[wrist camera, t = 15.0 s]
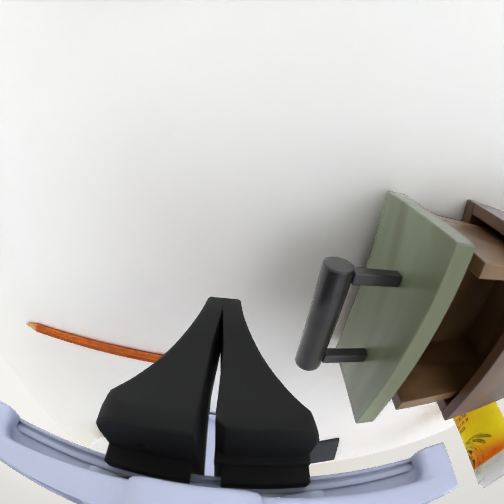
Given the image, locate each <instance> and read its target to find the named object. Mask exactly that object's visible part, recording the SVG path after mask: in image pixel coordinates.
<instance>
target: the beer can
mask: <svg viewBox="0 0 504 504" xmlns="http://www.w3.org/2000/svg"><path fill="white" fill-rule="evenodd" d="M453 419H454V421H455V423H456V426H457V428H458V430H459V433H460V435H461V438H462V440H463V442H464V445H465V447H466V450H467V453H468V455H469V458H470V461H471V464H472V466H473V469H474V472H475V475H476V478H477V481H478V484H480V485H481V486H482V487H483V488H485V487H487V486H488V485H490V484H491V483H493V482H494V481H496V480H498V479H499V478H501V477H502V476H503V475H504V417H503V415H502V413H501V411H500V409H499V407H498V406H497V403H496V402H493V403H491V404H488V405H486V406H483V407H481V408H479V409H476V410H473V411H471V412H468V413H465V414H463V415H460V416H457V417H454V418H453Z"/></svg>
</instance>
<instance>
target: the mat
mask: <svg viewBox="0 0 504 504" xmlns="http://www.w3.org/2000/svg"><path fill="white" fill-rule="evenodd" d="M338 443H339V438H337V439H331V440H326V441H320V442H318V444H317V445H316V447H315V448H314V449H313V450H312V452H311V453H310V461H311V462H310V464H311V463H317V462H323V461H329V460H334V458H335V454H336V451H337V447H338Z"/></svg>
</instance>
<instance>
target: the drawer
mask: <svg viewBox="0 0 504 504" xmlns="http://www.w3.org/2000/svg"><path fill="white" fill-rule="evenodd" d="M350 283H351V284H352V285H360V287H359V289H358V292H357V295H356V298H355V301H354V303H353V306H352V309H351V311H350V314H349V317H348V319H347V322H346V324H345V327H344V329H343V332H342V334H341V337H340V339H339V342H338V344H337V346H336V348H327V347H328V344H329V342H330V339H331V337H332V334H333V332H334V329H335V326H336V324H337V321H338V318H339V315H340V313H341V310H342V307H343V304H344V301H345V298H346V295H347V292H348V289H349V286H350ZM503 332H504V236H503V235H502V234H500V233H499V232H497V231H496V230H493V229H489V228H485V227H482V226H478V225H474V224H470V223H466V222H462V221H458V220H454V219H450V218H446V217H442V216H437V215H434V214H433V213H431V212H430V211H428V210H427V209H425V208H424V207H422V206H421V205H420V204H418V203H417V202H415V201H413V200H412V199H410V198H409V197H407V196H406V195H404V194H400V193H395V192H390V191H387V194H386V198H385V203H384V207H383V210H382V214H381V218H380V222H379V225H378V229H377V233H376V236H375V240H374V243H373V246H372V250H371V253H370V256H369V259H368V263H367V266H366V268H360V267H354V266H353V265H352V264H351V263H350V262H349V261H347V260H345V259H342V258H338V257H328V258H325V259H324V260H323V262H322V266H321V270H320V274H319V278H318V282H317V285H316V289H315V293H314V297H313V300H312V304H311V307H310V311H309V314H308V318H307V321H306V325H305V328H304V331H303V335H302V338H301V341H300V344H299V348H298V351H297V354H296V357H295V361H296V364H297V365H298V366H299V367H300V368H301V369H304V370H307V371H312V370H315V369H317V368H318V367H319V366H320V364H321V362H323V363H340V367H341V370H342V374H343V377H344V381H345V385H346V388H347V392H348V396H349V399H350V403H351V407H352V411H353V415H354V418H355V422H356V423H364V422H371V421H374V419H375V418H376V417H377V416H378V415H379V413H380V412H381V411H382V410H383V408H384V407H385V406H386V405H387V403H388V402H389V401H390V400H391V398H392V401H393V403H394V406H395V409H396V410H398V409H403V408H409V407H414V406H418V405H423V404H428V403H432V402H436V401H440V400H444V399H448V398H451V397H455V396H457V395H458V394H459V392H460V391H461V390H462V389H463V388H464V386H465V385H466V384H467V383H468V382H469V380H470V379H471V378H472V376H473V375H474V374H475V373H476V371H477V370H478V369H479V367H480V366H481V365H482V363H483V362H484V361H485V359H486V358H487V356H488V355H489V353H490V352H491V351H492V349H493V348H494V346H495V345H496V343H497V342H498V340H499V338H500V337H501V335H502V334H503Z"/></svg>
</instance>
